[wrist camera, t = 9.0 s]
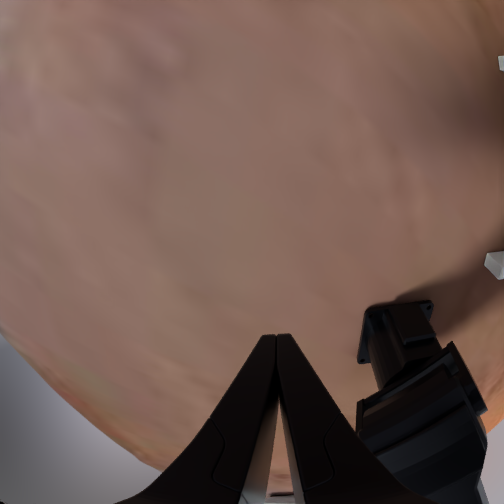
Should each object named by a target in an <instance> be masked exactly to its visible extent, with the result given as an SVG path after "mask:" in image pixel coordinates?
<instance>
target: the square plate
mask: <svg viewBox="0 0 504 504" xmlns="http://www.w3.org/2000/svg"><path fill="white" fill-rule="evenodd" d="M264 504H295V498H294V495H289V496H274V497H269V498H266V499H265V503H264Z"/></svg>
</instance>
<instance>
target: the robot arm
mask: <svg viewBox="0 0 504 504" xmlns="http://www.w3.org/2000/svg"><path fill="white" fill-rule="evenodd" d="M427 306H428V307H427ZM433 307H434V304H433V303H432V301H431V300H426V301H419V302H413V303H405V304H398V305H390V306H382V307H374V308H368V309H367V310H366V311H365V313H364V318H363V325H362V331H361V337H360V343H359V349H358V354H357V362H358V363H359V364H366V363H371V365H372V368H373V372H374V375H375V379H376V382H377V386H378V389H379V391H378V392H376V393H374V394H373V395H371V396H369V397H367V398H366V399H362V400H360V401H358V402H357V411H356V430H355V431H354V430H353V428H352V427H351V425H350V424H349V423H348V421H347V420H346V418H345V417H344V415H343V414H342V413H341V411H340V409H339V408H338V406H337V405H336V403H335V401H334V400H333V398H332V397H331V395H330V394H329V392H328V391H327V389H326V388H325V386H324V385H323V383H322V382H321V380H320V378H319V377H318V375H317V374H316V372H315V371H314V369H313V368H312V366H311V365H310V363H309V361H308V360H307V358H306V357H305V355H304V354H303V352H302V351H301V349H300V347H299V346H298V344H297V343H296V341H295V340H294V338H293V337H292V335H291V334H289V333H286V334H278V335H277V336H276V335H275V334H269V335H262V336H261V338H260V339H259V341H258V343H257V344H256V346H255V347H254V349H253V351H252V352H251V354H250V355H249V357H248V359H247V360H246V362H245V363H244V365H243V366H242V368H241V370H240V371H239V373H238V374H237V376H236V377H235V379H234V380H233V382H232V384H231V385H230V387H229V388H228V390H227V391H226V393H225V394H224V396H223V397H222V399H221V400H220V402H219V403H218V405H217V406H216V408H215V409H214V411H213V412H212V414H211V415H210V418H208V419H207V421H206V422H205V424H204V425H203V427H202V428H201V430H200V431H199V432H198V434H197V435H196V436H195V438H194V439H193V440H192V441H191V443H190V444H189V445H188V446H187V447H186V448H185V449H184V451H183V452H182V453H181V454H180V455H179V456H178V457H177V458H176V459H175V460H174V461H173V462H172V463H171V464H170V465H169V467H168V468H167V469H166V470H165V471H164V472H163V473H162V474H161V475H160V476H159V477H158V478H157V479H156V480H155V481H154V482H153V483H152V484H151V485H149V486H148V487H147V488H146V489H144V490H143V491H141V492H140V493H138V494H137V495H135V496H133V497H130V498H128V499H125V500H123V501H120V502H117V503H115V504H264V503H265V497H266V491H267V485H268V479H269V472H270V466H271V459H272V452H273V445H274V438H275V430H276V423H277V415H278V406H279V402H280V410H281V416H282V423H283V429H284V435H285V441H286V448H287V454H288V460H289V467H290V473H291V479H292V486H293V492H294V498H295V504H489V502H488V499H487V496H486V493H485V490H484V487H483V484H482V481H481V478H480V476H481V472H482V469H483V464H484V459H485V455H486V450H487V436H486V430H485V426H484V424H483V422H482V419H481V417H480V415H482V414H483V413H485V412H486V411H487V410H488V409H487V407H486V404H485V402H484V400H483V398H482V395H481V393H480V391H479V389H478V387H477V385H476V383H475V381H474V379H473V377H472V375H471V373H470V371H469V369H468V367H467V365H466V364H465V362H464V360H463V358H462V356H461V355H460V353H459V351H458V350H457V348H456V346H455V344H454V343H453V341H451V342H450V343H448V344H447V346H446V347H445V348H444V349H442V347H441V346H440V344H439V342H438V340H437V338H436V333H435V331H434V330H433V328H432V326H431V324H430V322H429V321H430V317H431V314H432V311H433ZM371 313H372V314H371ZM369 314H371V315H369ZM0 504H7V503H5V502H3V501H2V500H0Z"/></svg>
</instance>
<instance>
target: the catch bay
mask: <svg viewBox="0 0 504 504" xmlns="http://www.w3.org/2000/svg"><path fill="white" fill-rule="evenodd" d="M498 60H499V68H500V70H501V71H503V72H504V56H498ZM484 266H485V267H486V268H487V269H488V270H489V271H490V272H491V273H492V274H493V275H494V276H495V277H496V278H497V279H498V280H500V279H504V251H500V252H491V253H487V255H486V259H485V263H484Z"/></svg>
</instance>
